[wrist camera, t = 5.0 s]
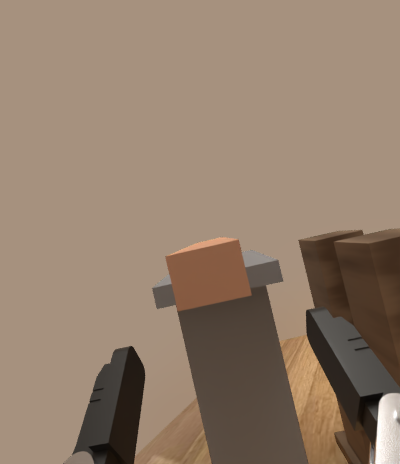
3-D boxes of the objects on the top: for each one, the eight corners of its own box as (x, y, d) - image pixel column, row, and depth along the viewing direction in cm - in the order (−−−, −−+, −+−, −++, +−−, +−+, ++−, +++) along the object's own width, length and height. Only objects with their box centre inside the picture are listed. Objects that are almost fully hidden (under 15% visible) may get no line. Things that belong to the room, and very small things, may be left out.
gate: (482, 688, 18) (371, 247, 18) (336, 442, 39) (287, 241, 39) (602, 673, 17) (482, 222, 18) (388, 432, 38) (338, 229, 39)
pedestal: (230, 634, 22) (152, 288, 23) (223, 468, 38) (177, 266, 39) (363, 614, 22) (278, 259, 23) (300, 454, 38) (251, 250, 39)
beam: (251, 295, 13) (238, 239, 13) (177, 311, 13) (165, 256, 13) (226, 255, 39) (222, 237, 39) (201, 261, 39) (197, 242, 39)
